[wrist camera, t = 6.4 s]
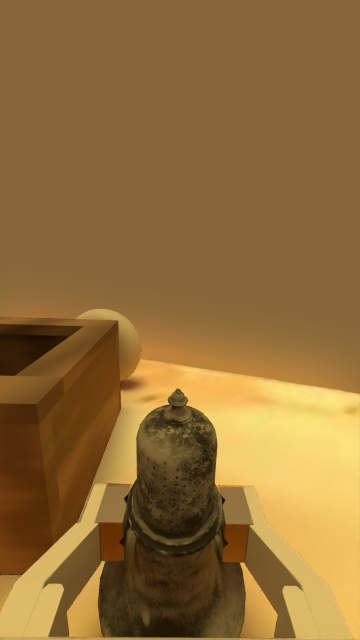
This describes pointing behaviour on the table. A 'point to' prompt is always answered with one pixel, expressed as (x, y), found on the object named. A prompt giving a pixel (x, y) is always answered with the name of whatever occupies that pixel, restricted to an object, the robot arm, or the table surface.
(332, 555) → the table surface
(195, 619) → the salt shaker
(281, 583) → the robot arm
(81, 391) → the box
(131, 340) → the donut
